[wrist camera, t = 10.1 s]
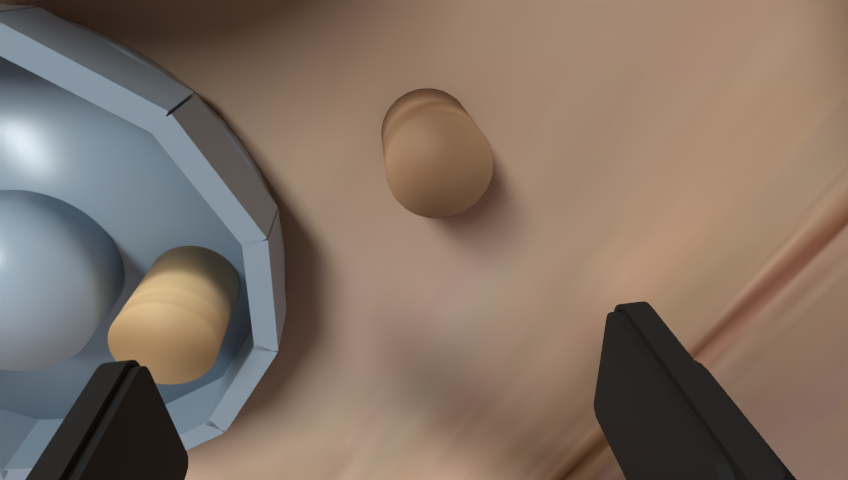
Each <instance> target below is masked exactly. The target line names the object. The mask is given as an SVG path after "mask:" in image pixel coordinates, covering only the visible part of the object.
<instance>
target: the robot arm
mask: <svg viewBox="0 0 848 480" xmlns="http://www.w3.org/2000/svg"><path fill="white" fill-rule="evenodd" d="M594 410H595V414H596V418H597V420H598V422H599V424H600V426H601V429H602V431H603V433H604V435H605V437H606V439H607V441H608V443H609V445H610V447H611V449H612V451H613V453H614V455H615V457H616V459H617V461H618V463H619V465H620V467H621V469H622V471H623V474H624V476H625V478H626V480H796V479H795V477H794V476H793V475H792V474H791V472H790V471H789V470H788V469H787V468H786V466H785V465H784V464H783V463H782V461H781V460H780V459H779V458H778V456H777V455H776V454H775V453H774V451H773V450H772V449H771V448H770V446H769V445H768V444H767V443H766V442H765V440H764V439H763V438H762V437H761V435H760V434H759V433H758V432H757V430H756V429H755V428H754V427H753V425H752V424H751V423H750V422H749V421H748V419H747V418H746V417H745V416H744V414H743V413H742V412H741V411H740V409H739V408H738V407H737V406H736V404H735V403H734V402H733V401H732V399H731V398H730V397H729V396H728V395H727V393H726V392H725V391H724V390H723V388H722V387H721V386H720V385H719V383H718V382H717V381H716V380H715V378H714V377H713V376H712V375H711V374H710V372H709V371H708V370H707V369H706V368H705V367H704V366H703V365H702V364H701V363H699V362H697V361H694V359H693V358H692V357H691V356H690V354H689V353H688V352H687V351H686V349H685V348H684V347H683V346H682V344H681V343H680V342H679V341H678V339H677V338H676V337H675V336H674V334H673V333H672V332H671V331H670V329H669V328H668V327H667V326H666V324H665V323H664V322H663V320H662V319H661V318H660V317H659V315H658V314H657V313H656V312H655V310H654V309H653V308H652V307H651V305H649V304H648V303H647V302H636V303H627V304H619V305H617V306H616V307H615V310H614V312H610V313H608V315H607V318H606V325H605V332H604V339H603V345H602V352H601V359H600V366H599V372H598V379H597V386H596V393H595V399H594ZM187 469H188V455H187V452H186V449H185V447H184V445H183V443H182V441H181V438H180V436H179V434H178V432H177V430H176V428H175V425H174V423H173V421H172V419H171V417H170V414H169V412H168V410H167V408H166V406H165V403H164V401H163V399H162V397H161V395H160V393H159V390H158V388H157V386H156V384H155V382H154V379H153V377H152V375H151V373H150V371H149V369H148V368H147V367H146V366H140V364H139V363H138V362H137V361H136V360H126V361H117V362H108V363H103V364H101V365H99V367H98V368H97V369H96V370H95V372H94V373H93V375H92V377H91V378H90V380H89V381H88V383H87V384H86V386H85V387H84V389H83V391H82V392H81V394H80V395H79V397H78V398H77V400H76V401H75V403H74V405H73V406H72V408H71V409H70V411H69V412H68V414H67V415H66V417H65V419H64V420H63V422H62V423H61V425H60V426H59V428H58V429H57V431H56V433H55V434H54V436H53V437H52V439H51V440H50V442H49V443H48V445H47V447H46V448H45V450H44V451H43V453H42V454H41V456H40V457H39V459H38V461H37V462H36V464H35V465H34V467H33V468H32V470H31V471H30V473H29V475H28V476H27V478H26V479H25V480H184V479H185V476H186V473H187Z"/></svg>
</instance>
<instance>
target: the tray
mask: <svg viewBox="0 0 848 480" xmlns="http://www.w3.org/2000/svg"><path fill="white" fill-rule="evenodd" d="M277 207H278V206H277V205H276V203H275V202H274V200H273V198H272V195H271V193H270V191H269V189H268V187H267V185H266V183H265V180H264V178H263V176H262V174H261V172H260V171H259V169H258V167H257V166H256V164H255V163H254V161H253V159H252V158H251V156H250V155H249V153H248V151H247V150H246V148H245V147H244V145H243V144H242V143H241V142H240V140H239V139H238V138H237V137H236V135H235V134H234V133H233V132H232V131H231V129H230V128H229V127H228V126H227V124H226V123H225V122H224V121H223V119H222V118H221V117H220V116H219V115H217V114H216V113H215V112H214V111H213V110H212V109H211V108H210V107H209V106H208V105H207V104H206V103H205V102H204V101H203V100H202V99H201V98H200V97H199V96H198V95H197V94H196V93H195V92H194V91H192V90H191V89H190V88H188V87H187V86H186V85H185V84H183V83H182V82H181V81H180V80H178V79H177V78H176V77H175V76H173V75H172V74H171V73H169V72H168V71H167V70H166V69H164V68H162V67H161V66H159V65H158V64H156V63H154V62H153V61H151V60H150V59H148V58H147V57H145V56H143V55H142V54H140V53H139V52H137V51H135V50H134V49H132V48H130V47H128V46H126V45H124V44H122V43H120V42H118V41H116V40H114V39H112V38H110V37H108V36H106V35H104V34H102V33H100V32H98V31H96V30H94V29H91V28H88V27H85V26H83V25H80V24H77V23H74V22H72V21H69V20H66V19H63V18H61V17H58V16H55V15H53V14H51V13H50V12H48V11H46V10H44V9H42V8H40V7H38V8H37V7H36V6H26V5H10V4H2V3H0V480H25V479H26V478H27V476H28V475H29V473H30V471H31V470H32V468H33V467H34V465H35V464H36V462H37V461H38V459H39V457H40V456H41V454H42V453H43V451H44V450H45V448H46V447H47V445H48V443H49V442H50V440H51V439H52V437H53V436H54V434H55V433H56V431H57V429H58V428H59V426H60V425H61V423H62V422H63V420H64V419H65V417H66V415H67V414H68V412H69V411H70V409H71V408H72V406H73V405H74V403H75V401H76V400H77V398H78V397H79V395H80V394H81V392H82V391H83V389H84V387H85V386H86V384H87V383H88V381H89V380H90V378H91V377H92V375H93V373H94V372H95V370H96V369H97V368H98V367H99V365H101V364H103V363H108V362H117V361H116V360H115V359H114V357H113V356H112V354H111V352H110V349H109V346H108V332H109V329H110V327H111V325H112V323H113V322H114V320H115V319H116V317H117V316H118V314H119V313H120V312H121V310H122V309H123V307H124V306H125V304H126V303H127V301H128V300H129V298H130V297H131V296H132V294H133V293H134V291H135V290H136V288H137V287H138V285H139V284H140V282H141V281H142V279H143V278H144V277H145V275H146V274H147V272H148V271H149V269H150V268H151V266H152V265H153V263H154V262H155V261H156V259H157V258H158V257H159V256H160V255H161V254H163V253H164V252H166V251H168V250H170V249H172V248H176V247H180V246H199V247H204V248H207V249H210V250H213V251H215V252H217V253H219V254H220V255H222V256H223V257H225V258H226V259H227V260H228V261H229V262H230V263H231V264H232V265H233V266H234V268H235V269H236V271H237V273H238V275H239V278H240V284H241V289H240V294H239V297H238V300H237V302H236V305H235V308H234V311H233V313H232V316H231V319H230V322H229V324H228V327H227V330H226V333H225V336H224V338H223V341H222V344H221V347H220V349H219V352H218V355H217V358H216V360H215V363H214V364H213V366H212V367H211V369H210V370H209V371H208V372H207V373H206V374H204V375H203V376H201V377H199V378H198V379H196V380H193V381H190V382H187V383H182V384H171V385H169V384H158V383H155V384H156V386H157V388H158V390H159V393H160V395H161V397H162V399H163V401H164V403H165V406H166V408H167V410H168V412H169V414H170V417H171V419H172V421H173V423H174V425H175V428H176V430H177V432H178V434H179V436H180V438H181V441H182V443H183V445H184V447H185V449H186V451H187V450H189V449H191V448H193V447H195V446H198V445H200V444H202V443H204V442H206V441H208V440H210V439H213V438H215V437H217V436H219V435H221V434H223V433H224V432H226V431H227V429H228V428H229V426H230V425H231V423H232V422H233V420H234V419H235V417H236V416H237V414H238V412H239V411H240V409H241V408H242V406H243V405H244V403H245V402H246V400H247V399H248V397H249V396H250V394H251V393H252V391H253V390H254V388H255V387H256V385H257V384H258V382H259V380H260V379H261V377H262V376H263V374H264V373H265V371H266V370H267V368H268V367H269V365H270V364H271V362H272V361H273V359H274V358H275V356H276V355H277V353H278V349H279V344H280V340H281V335H282V330H283V326H284V321H285V316H286V312H287V308H286V295H285V277H286V251H285V244H284V238H283V231H282V226H281V222H280V219H279V209H277Z"/></svg>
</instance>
